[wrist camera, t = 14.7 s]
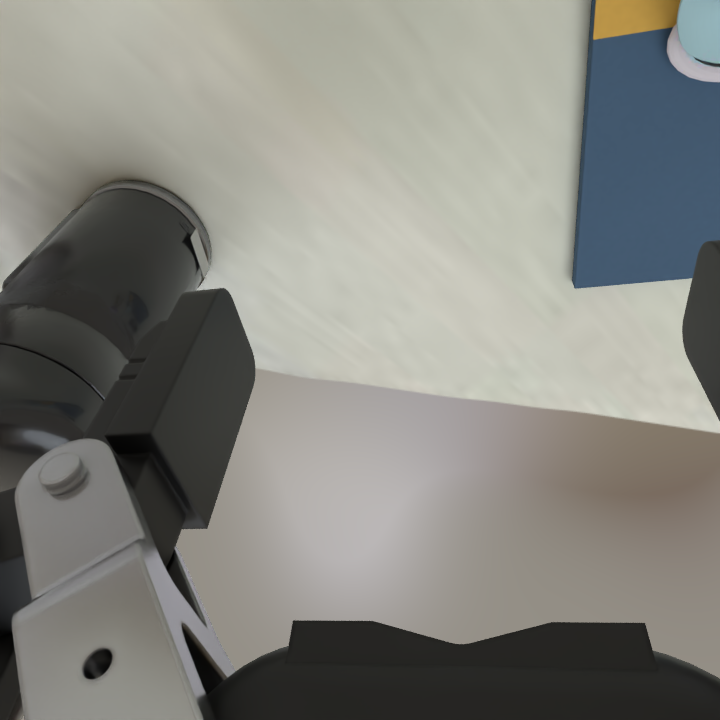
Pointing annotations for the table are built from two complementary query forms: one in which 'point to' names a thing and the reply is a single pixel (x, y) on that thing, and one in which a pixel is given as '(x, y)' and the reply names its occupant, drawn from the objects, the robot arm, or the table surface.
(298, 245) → the table surface
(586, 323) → the table surface
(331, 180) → the table surface
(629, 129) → the blue book
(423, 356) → the table surface
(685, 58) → the pacifier
